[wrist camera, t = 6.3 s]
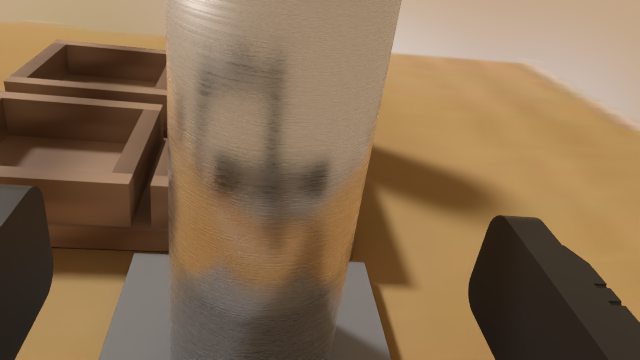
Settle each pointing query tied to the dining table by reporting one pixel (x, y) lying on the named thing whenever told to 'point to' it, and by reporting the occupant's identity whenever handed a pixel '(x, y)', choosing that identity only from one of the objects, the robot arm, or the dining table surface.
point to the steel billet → (267, 168)
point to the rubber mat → (154, 316)
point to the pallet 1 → (95, 74)
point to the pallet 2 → (90, 168)
